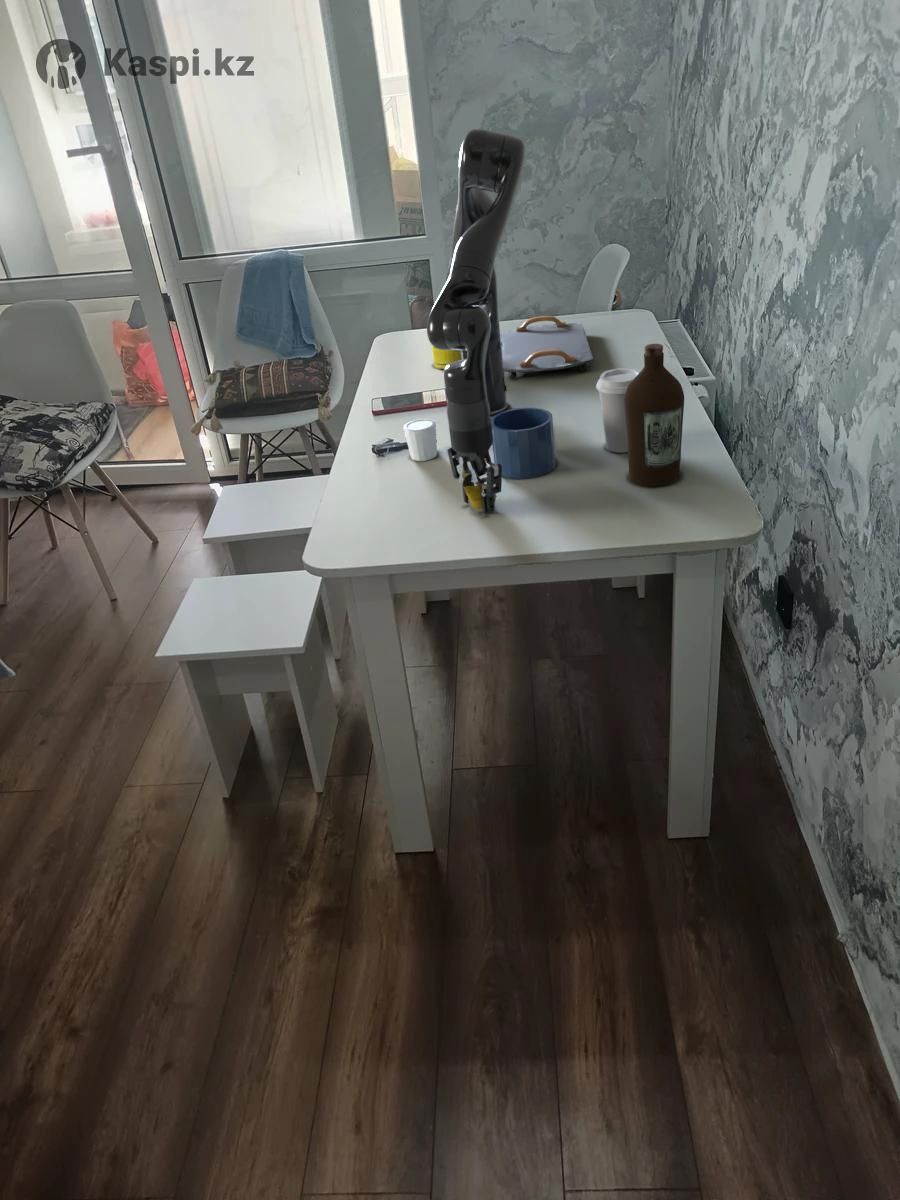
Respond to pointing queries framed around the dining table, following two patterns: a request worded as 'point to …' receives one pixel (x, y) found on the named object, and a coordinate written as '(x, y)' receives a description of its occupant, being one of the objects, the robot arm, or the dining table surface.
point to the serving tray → (545, 347)
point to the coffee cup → (615, 406)
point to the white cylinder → (421, 439)
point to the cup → (523, 442)
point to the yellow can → (445, 357)
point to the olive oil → (654, 422)
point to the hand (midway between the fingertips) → (479, 506)
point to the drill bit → (475, 497)
